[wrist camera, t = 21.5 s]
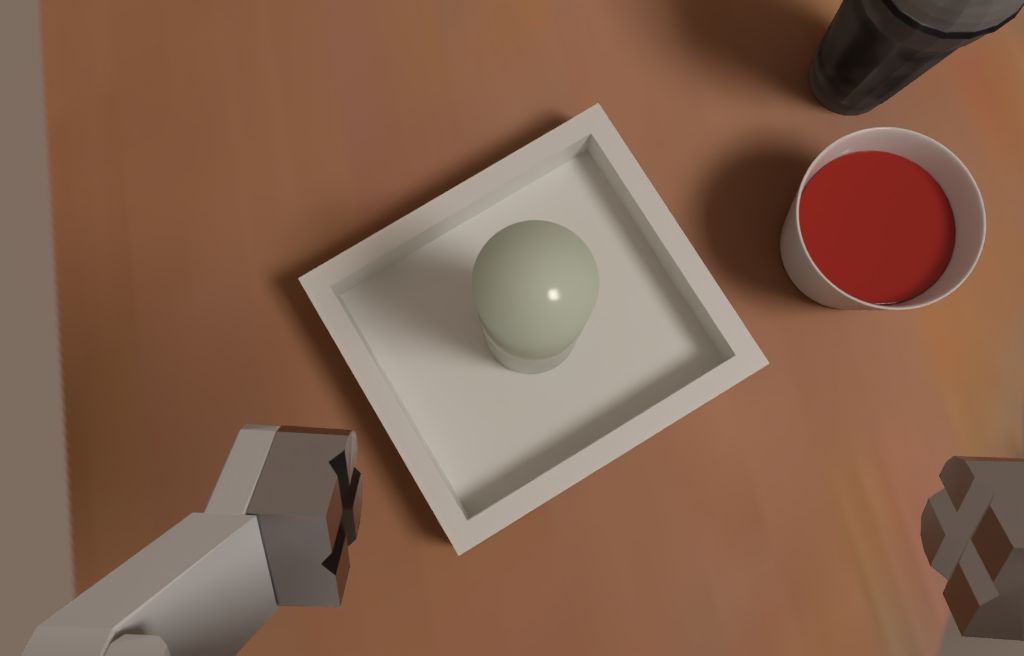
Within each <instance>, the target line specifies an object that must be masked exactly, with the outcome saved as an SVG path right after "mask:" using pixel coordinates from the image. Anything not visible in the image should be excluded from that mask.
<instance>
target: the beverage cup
mask: <svg viewBox="0 0 1024 656" xmlns="http://www.w3.org/2000/svg"><path fill="white" fill-rule="evenodd" d="M1023 5H1024V0H843V2H842V4H841V6H840V8H839V9H838V11H837V13H836V15H835V17H834V19H833V21H832V22H831V24H830V26H829V28H828V30H827V32H826V34H825V35H824V37H823V39H822V41H821V43H820V45H819V47H818V50H817V53H816V56H815V58H814V59H813V61H812V64H811V67H810V70H809V84H810V86H811V89H812V92H813V94H814V96H815V97H816V98H817V99H818V101H819V102H820V103H821V104H822V105H823V106H825V107H826V108H828V109H829V110H830V111H832V112H835V113H838V114H842V115H860V114H863V113H866V112H869V111H870V110H872V109H873V108H875V107H876V106H877V105H879V104H882V103H883V102H885V101H886V100H888V99H889V98H890V97H892V96H893V95H895V94H896V93H897V92H899V91H900V90H902V89H903V88H904V87H906V86H907V85H908V84H910V83H911V82H913V81H914V80H915V79H917V78H918V77H919V76H921V75H922V74H924V73H925V72H926V71H928V70H929V69H930V68H932V67H933V66H935V65H936V64H937V63H939V62H940V61H941V60H943V59H944V58H946V57H947V56H948V55H950V54H951V53H952V52H954V51H955V50H957V49H958V48H959V47H962V46H966V45H968V44H970V43H972V42H974V41H975V40H977V39H979V38H981V37H983V36H984V35H986V34H989V33H992V32H995V31H996V30H998V29H999V28H1000V27H1002V26H1003V25H1005V24H1006V23H1008V22H1009V21H1010V20H1012V19H1013V18H1015V17H1016V15H1017V14H1018V12H1019V11H1020V9H1021V8H1022V7H1023Z"/></svg>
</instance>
